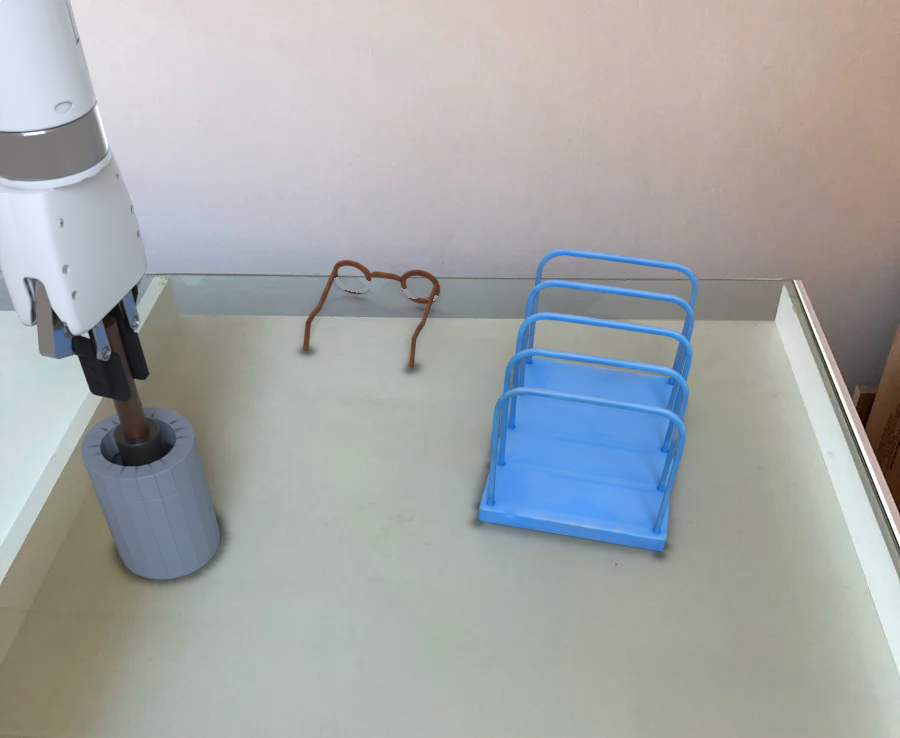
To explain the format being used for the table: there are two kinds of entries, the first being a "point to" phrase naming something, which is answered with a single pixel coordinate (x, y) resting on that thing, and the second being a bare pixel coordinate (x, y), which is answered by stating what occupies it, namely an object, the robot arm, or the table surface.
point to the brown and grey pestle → (132, 413)
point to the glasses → (368, 277)
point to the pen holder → (155, 499)
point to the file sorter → (590, 428)
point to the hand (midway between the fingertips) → (120, 384)
